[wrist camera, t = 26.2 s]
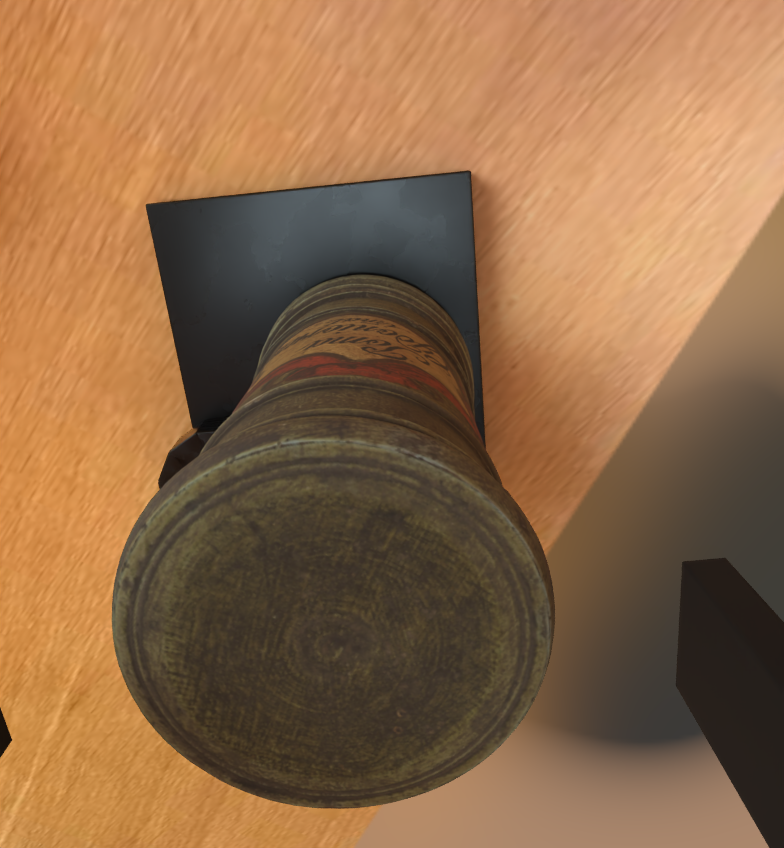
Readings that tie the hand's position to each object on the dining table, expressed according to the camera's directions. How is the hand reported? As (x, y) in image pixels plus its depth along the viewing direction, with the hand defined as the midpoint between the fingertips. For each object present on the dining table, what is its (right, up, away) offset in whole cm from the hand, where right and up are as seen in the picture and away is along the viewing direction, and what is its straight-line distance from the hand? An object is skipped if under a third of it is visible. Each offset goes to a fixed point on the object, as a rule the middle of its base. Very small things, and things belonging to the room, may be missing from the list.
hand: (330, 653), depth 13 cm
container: (0, +6, +17) cm, 18 cm away
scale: (-2, +7, +17) cm, 19 cm away
